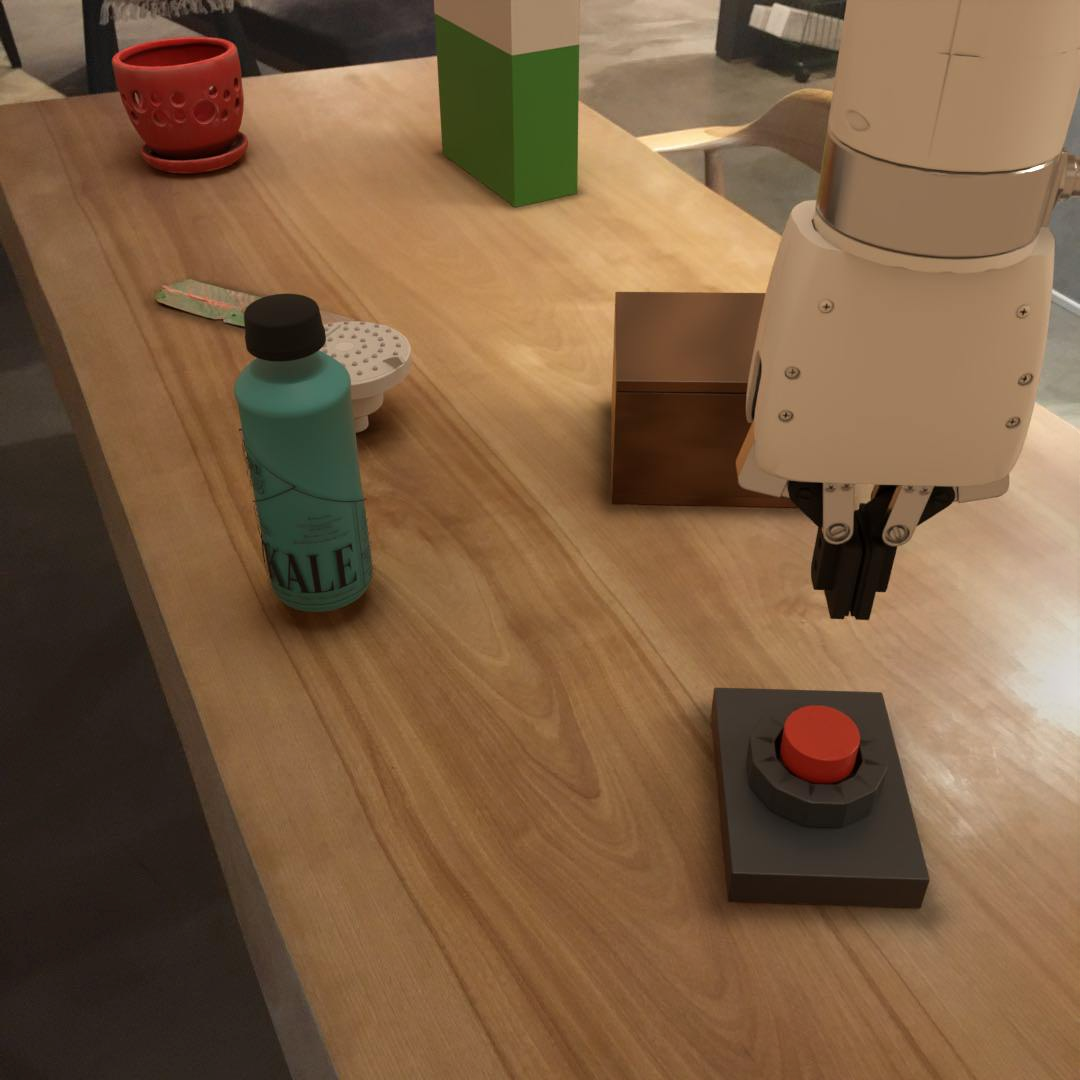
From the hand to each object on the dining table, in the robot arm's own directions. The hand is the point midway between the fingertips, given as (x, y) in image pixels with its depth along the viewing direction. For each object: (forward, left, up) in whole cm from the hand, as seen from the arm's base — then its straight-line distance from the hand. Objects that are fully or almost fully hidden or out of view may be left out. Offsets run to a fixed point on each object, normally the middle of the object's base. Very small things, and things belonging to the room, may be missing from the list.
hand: (844, 598), depth 51 cm
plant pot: (-23, -103, -14) cm, 106 cm away
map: (-8, -66, -14) cm, 68 cm away
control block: (0, 0, -14) cm, 14 cm away
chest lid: (-22, -24, -5) cm, 32 cm away
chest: (-21, -24, -14) cm, 35 cm away
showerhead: (-4, -45, -14) cm, 47 cm away
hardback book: (-46, -76, -14) cm, 90 cm away
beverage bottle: (+9, -30, -14) cm, 34 cm away
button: (0, 0, -10) cm, 10 cm away
